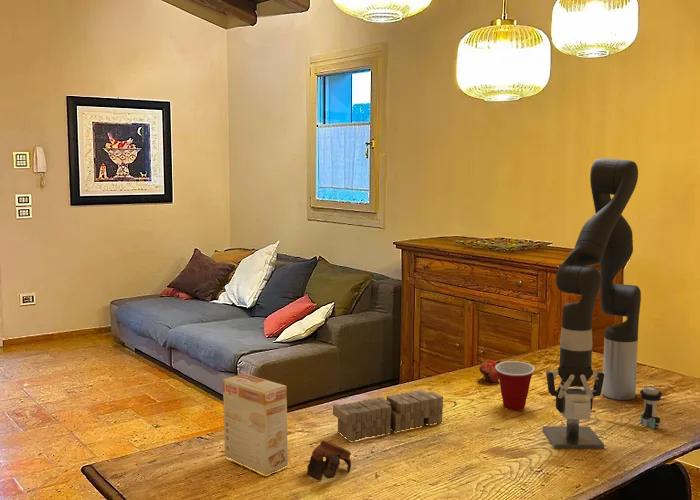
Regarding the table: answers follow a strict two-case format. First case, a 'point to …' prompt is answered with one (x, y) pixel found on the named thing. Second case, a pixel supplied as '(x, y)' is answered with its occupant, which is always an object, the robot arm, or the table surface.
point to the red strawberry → (489, 370)
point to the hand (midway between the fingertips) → (573, 411)
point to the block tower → (388, 414)
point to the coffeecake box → (255, 422)
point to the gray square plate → (572, 436)
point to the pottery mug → (327, 460)
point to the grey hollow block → (576, 404)
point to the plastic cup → (514, 383)
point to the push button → (650, 407)
